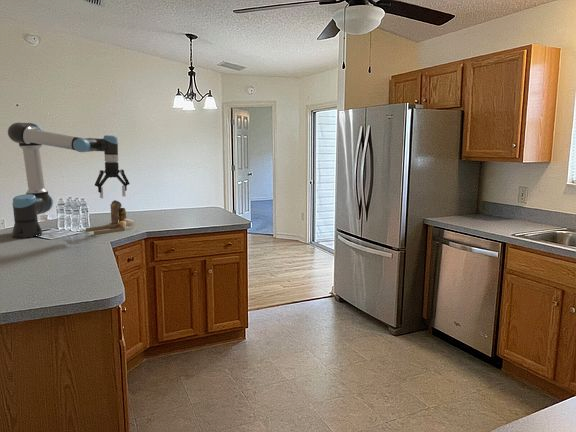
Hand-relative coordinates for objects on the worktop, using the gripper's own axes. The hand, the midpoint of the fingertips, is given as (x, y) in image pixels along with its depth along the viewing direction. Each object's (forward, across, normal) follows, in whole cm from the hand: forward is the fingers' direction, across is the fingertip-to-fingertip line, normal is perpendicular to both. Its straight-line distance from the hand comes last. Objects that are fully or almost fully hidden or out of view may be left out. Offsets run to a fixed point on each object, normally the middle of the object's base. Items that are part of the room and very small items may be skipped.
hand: (112, 197), depth 266 cm
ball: (+18, +5, 0) cm, 18 cm away
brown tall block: (+20, 0, 0) cm, 20 cm away
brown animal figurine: (+22, +10, +16) cm, 29 cm away
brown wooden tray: (+22, -2, 0) cm, 22 cm away
